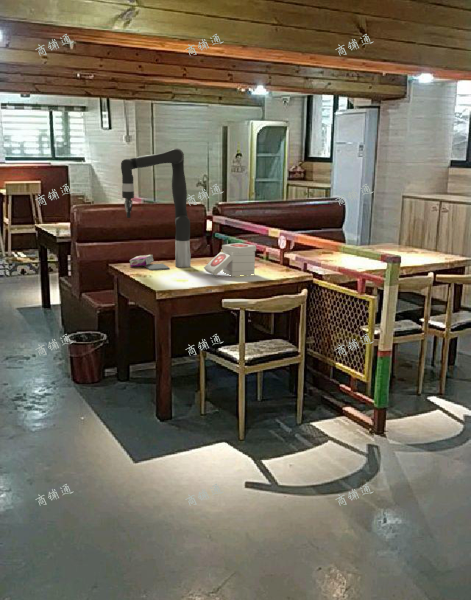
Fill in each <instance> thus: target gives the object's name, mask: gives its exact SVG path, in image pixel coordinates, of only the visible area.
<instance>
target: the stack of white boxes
mask: <svg viewBox="0 0 471 600" xmlns="http://www.w3.org/2000/svg"><path fill="white" fill-rule="evenodd" d="M256 251H257V245H254V244H248V243H242V242H237V243H229V244H222V245H221V251H220V252H219V253H218V254H217V255H215V256H214V257H213V258H212V259H211V260H210V261H209V262H208V263H207V264H206V265H204V267H203V269H204V270H205V271H206V272H207V273H209V274H211V275H213V276H215V277H216V276H217V275H218V274H219V273H220V272H221V271H222V273H223V272H224V273H223V274H225V273H226V274H225V275H227V274H229V275H231V276H240V275H251V274H254V275H255V264H256V263H255V262H256V260H255V259H256ZM229 275H228V276H229ZM231 276H230V277H231Z"/></svg>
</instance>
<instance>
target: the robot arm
mask: <svg viewBox="0 0 471 600" xmlns="http://www.w3.org/2000/svg"><path fill="white" fill-rule="evenodd" d="M184 155H185V154H184V152H183V150H181V148H171V150H168V151H165V152H161V153H155V154H148V155H140V156H137V157H131V158H123V160H121V163H120V170H121V179H122V180H121V181H122V184H121V185H122V186H121V193H122V194H121V195H122V196H121V197H122V199H125V200H124V202H123V204H124V208H125V212H126V218H127V219H131V217H132V216H131V213H132V210H133V201H132V199H135V186H134V185H135V184H134V175H133V170H135V169H142V168H147V167H152V166H157V165H161V164H171V168H172V169H171V171H172V174H171V175H172V176H171V193H172V198H173V199H172V200H173V205H174V212H175V213H174V224H175V237H174V238H175V242H174V243H175V244H174V245H175V247H174V249H175V256H174V257H175V262H174V263H175V267H177V268H190V267H191V251H190V250H191V249H190V245H191V244H190V243H191V242H190V241H191V239H190V238H191V220H190V218H189V217H188V211H187V202H188V200H187V199H188V198H187V197H188V192H187V191H188V190H187V183H186V175H185V169H184V168H185V166H184V164H185V156H184Z"/></svg>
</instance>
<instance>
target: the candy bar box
mask: <svg viewBox="0 0 471 600" xmlns="http://www.w3.org/2000/svg"><path fill="white" fill-rule="evenodd" d="M153 262H154V256H153V254H144V255H137V256H135V257H133V258H131V259H129V266H130V268H136V267H144V266H145V265H148V264H152V263H153Z"/></svg>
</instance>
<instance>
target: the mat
mask: <svg viewBox="0 0 471 600" xmlns="http://www.w3.org/2000/svg"><path fill="white" fill-rule="evenodd" d="M143 267H144V268H146V269H147V270H148V271H165V270H166V271H167V270H170V269H171V267H169V266H168V265H166V264H164V263H150V264H148V265H145V266H143Z"/></svg>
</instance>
